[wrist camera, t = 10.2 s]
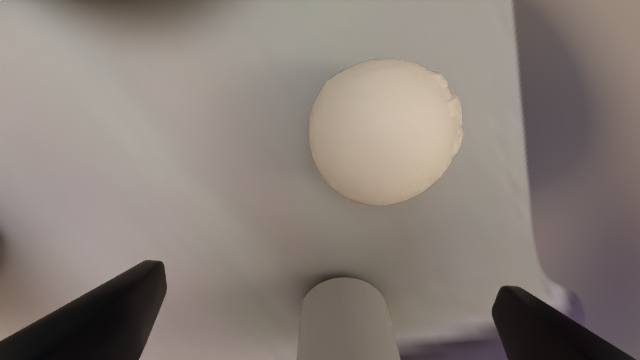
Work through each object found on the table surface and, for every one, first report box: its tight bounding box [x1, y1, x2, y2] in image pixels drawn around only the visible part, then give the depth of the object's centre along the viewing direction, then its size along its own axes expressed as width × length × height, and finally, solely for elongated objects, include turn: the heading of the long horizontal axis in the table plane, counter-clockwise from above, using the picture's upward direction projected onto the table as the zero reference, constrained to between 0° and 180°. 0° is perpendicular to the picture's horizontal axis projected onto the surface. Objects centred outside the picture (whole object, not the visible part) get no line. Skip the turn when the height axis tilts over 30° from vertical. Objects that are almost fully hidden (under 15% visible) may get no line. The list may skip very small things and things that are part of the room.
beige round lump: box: [309, 59, 463, 205], centre depth 15 cm, size 7×7×7 cm
